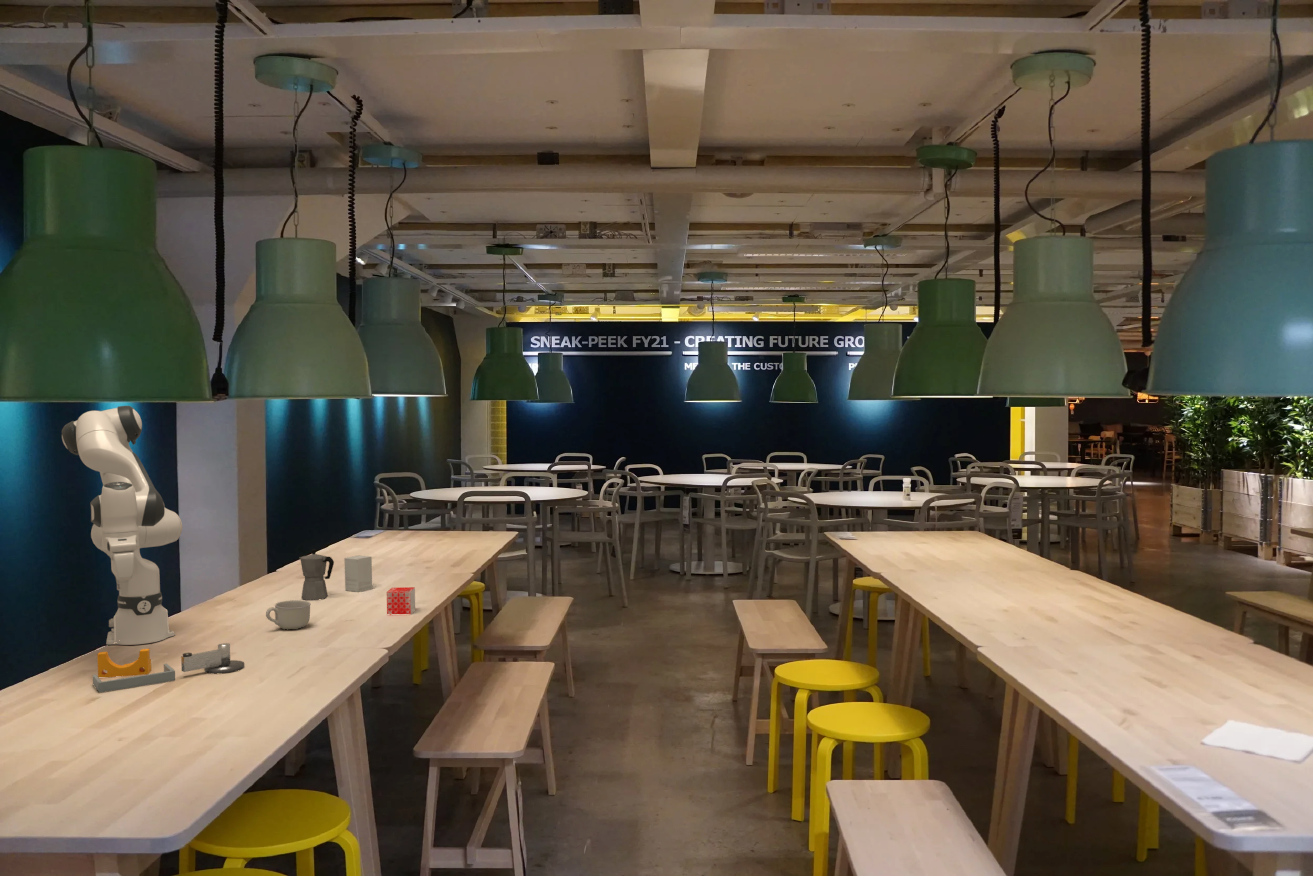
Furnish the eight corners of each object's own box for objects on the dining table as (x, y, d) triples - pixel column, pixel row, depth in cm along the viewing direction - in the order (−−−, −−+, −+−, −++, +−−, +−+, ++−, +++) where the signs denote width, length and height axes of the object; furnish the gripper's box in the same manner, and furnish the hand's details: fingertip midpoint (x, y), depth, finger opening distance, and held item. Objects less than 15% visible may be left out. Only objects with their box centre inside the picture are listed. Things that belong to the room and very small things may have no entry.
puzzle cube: (392, 610, 352) (391, 587, 351) (415, 610, 352) (414, 587, 351) (386, 615, 344) (386, 592, 343) (410, 615, 344) (410, 591, 344)
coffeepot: (291, 599, 372) (290, 550, 371) (309, 594, 381) (308, 546, 380) (325, 602, 366) (324, 552, 365) (342, 597, 375) (341, 548, 374)
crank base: (200, 668, 278) (200, 663, 278) (238, 662, 284) (238, 657, 284) (209, 675, 270) (209, 671, 270) (249, 669, 276) (248, 665, 276)
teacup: (305, 622, 333) (305, 598, 333) (315, 628, 324) (314, 603, 324) (261, 628, 325) (260, 603, 325) (269, 635, 316) (269, 609, 316)
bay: (92, 684, 263) (92, 674, 263) (167, 672, 273) (166, 663, 273) (99, 692, 255) (98, 683, 255) (175, 680, 266) (175, 671, 266)
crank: (227, 662, 279) (226, 642, 279) (232, 664, 277) (231, 644, 277) (180, 671, 270) (180, 651, 270) (185, 673, 268) (184, 653, 268)
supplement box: (373, 589, 390) (372, 556, 390) (357, 592, 384) (357, 559, 383) (359, 587, 394) (358, 554, 394) (344, 590, 388) (343, 557, 387)
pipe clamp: (151, 670, 276) (150, 647, 276) (148, 675, 272) (147, 651, 272) (101, 674, 273) (101, 650, 273) (98, 678, 269) (97, 654, 268)
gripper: (104, 539, 285) (106, 589, 285) (110, 546, 268) (112, 599, 268) (129, 537, 288) (131, 586, 289) (137, 544, 271) (139, 596, 271)
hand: (122, 592), depth 278 cm, fingers open, 8 cm apart
